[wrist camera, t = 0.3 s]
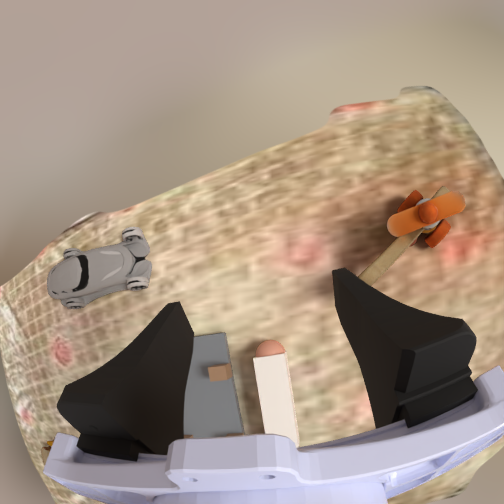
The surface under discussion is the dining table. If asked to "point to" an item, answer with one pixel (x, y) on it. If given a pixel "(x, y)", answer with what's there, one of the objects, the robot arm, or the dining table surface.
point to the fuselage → (275, 390)
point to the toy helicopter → (416, 227)
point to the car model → (101, 270)
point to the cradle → (211, 391)
